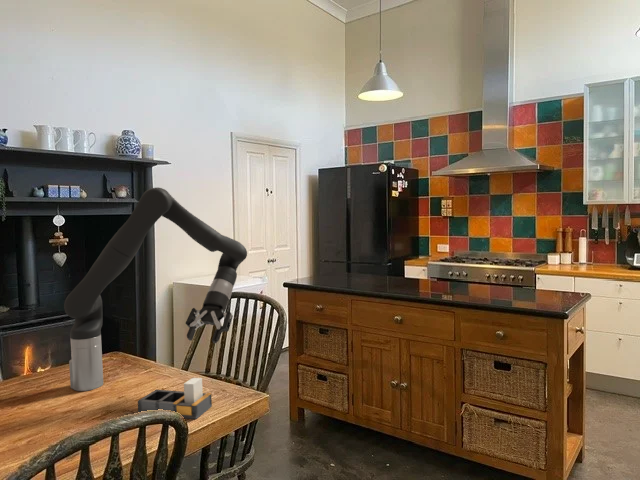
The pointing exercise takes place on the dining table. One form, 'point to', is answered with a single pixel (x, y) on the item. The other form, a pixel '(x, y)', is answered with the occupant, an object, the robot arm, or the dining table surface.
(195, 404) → the slot rack
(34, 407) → the dining table surface
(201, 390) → the white rectangular block
